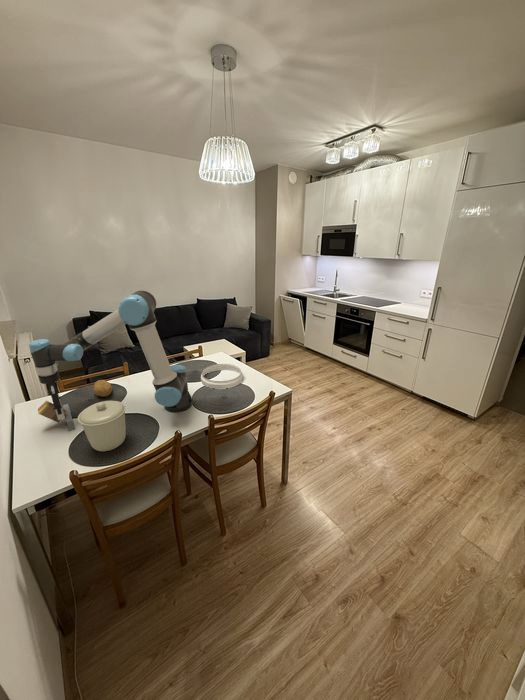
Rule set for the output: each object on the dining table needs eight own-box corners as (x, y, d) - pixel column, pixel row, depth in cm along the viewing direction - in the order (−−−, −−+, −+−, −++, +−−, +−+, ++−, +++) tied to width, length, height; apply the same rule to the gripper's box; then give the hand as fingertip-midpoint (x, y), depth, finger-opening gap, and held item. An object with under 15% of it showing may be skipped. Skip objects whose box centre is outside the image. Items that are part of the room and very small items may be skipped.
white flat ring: (231, 367, 202) (231, 360, 200) (250, 382, 180) (250, 375, 178) (195, 376, 188) (194, 368, 186) (210, 393, 167) (210, 385, 165)
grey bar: (75, 429, 135) (72, 420, 133) (69, 430, 133) (66, 422, 131) (70, 411, 148) (68, 403, 146) (64, 413, 146) (62, 405, 144)
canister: (118, 425, 137) (109, 387, 130) (139, 440, 128) (132, 400, 120) (78, 446, 123) (66, 405, 116) (99, 464, 114) (88, 421, 106)
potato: (97, 403, 156) (94, 390, 153) (92, 392, 166) (89, 380, 163) (116, 397, 162) (114, 385, 159) (110, 387, 172) (108, 376, 169)
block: (67, 414, 136) (47, 404, 129) (58, 423, 134) (38, 413, 128) (65, 410, 139) (46, 400, 133) (57, 418, 138) (37, 408, 132)
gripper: (60, 378, 123) (72, 422, 131) (56, 363, 137) (67, 403, 146) (38, 383, 118) (53, 428, 127) (36, 367, 133) (49, 408, 141)
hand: (60, 415), depth 136 cm, fingers open, 7 cm apart
